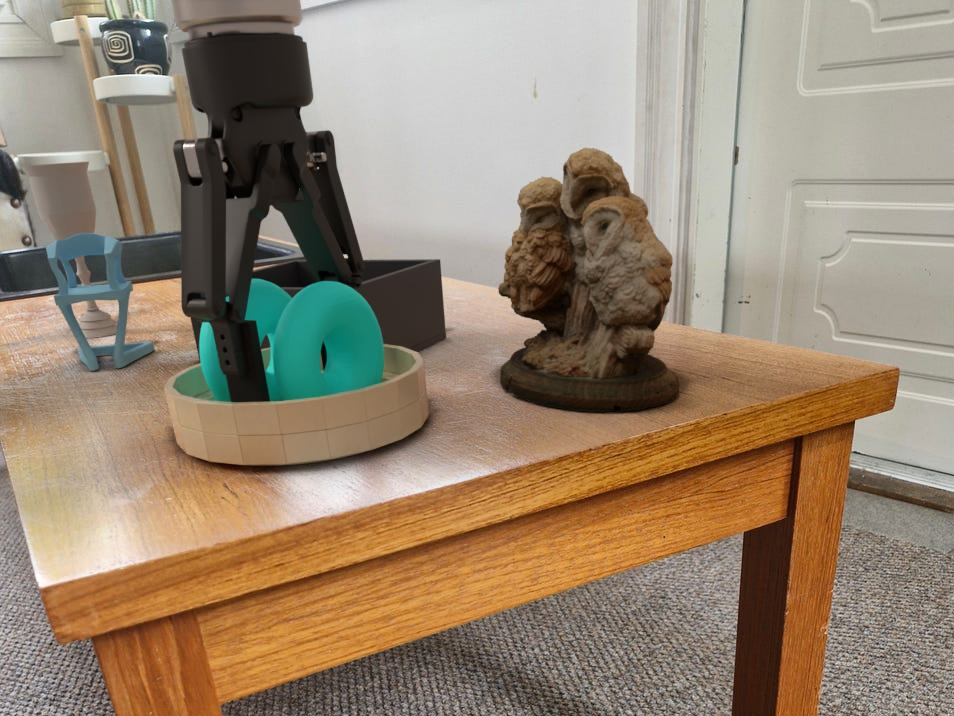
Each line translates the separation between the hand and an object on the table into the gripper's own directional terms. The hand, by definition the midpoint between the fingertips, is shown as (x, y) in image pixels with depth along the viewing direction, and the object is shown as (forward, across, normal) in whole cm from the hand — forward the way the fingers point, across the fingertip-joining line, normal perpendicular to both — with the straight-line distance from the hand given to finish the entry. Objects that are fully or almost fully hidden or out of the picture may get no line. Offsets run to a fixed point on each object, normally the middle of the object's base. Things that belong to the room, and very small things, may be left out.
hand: (300, 398), depth 65 cm
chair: (+3, +16, +35) cm, 39 cm away
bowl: (+2, 0, 0) cm, 2 cm away
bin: (+2, +23, +13) cm, 27 cm away
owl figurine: (+3, +16, -16) cm, 23 cm away
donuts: (+2, 0, 0) cm, 2 cm away
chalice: (+3, +28, +49) cm, 56 cm away
